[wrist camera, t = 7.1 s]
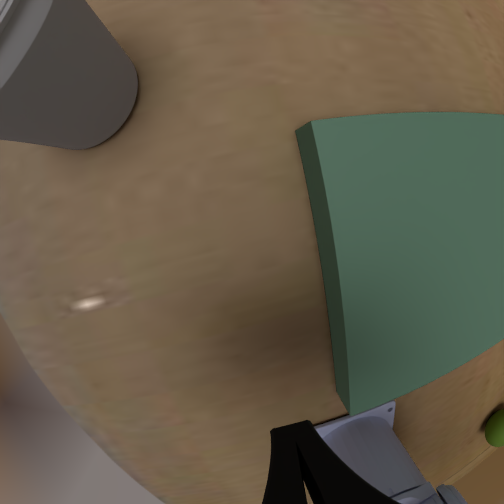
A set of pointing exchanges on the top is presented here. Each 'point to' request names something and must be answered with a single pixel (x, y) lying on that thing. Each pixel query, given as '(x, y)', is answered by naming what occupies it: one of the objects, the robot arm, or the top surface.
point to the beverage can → (61, 75)
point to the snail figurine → (495, 429)
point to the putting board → (407, 244)
